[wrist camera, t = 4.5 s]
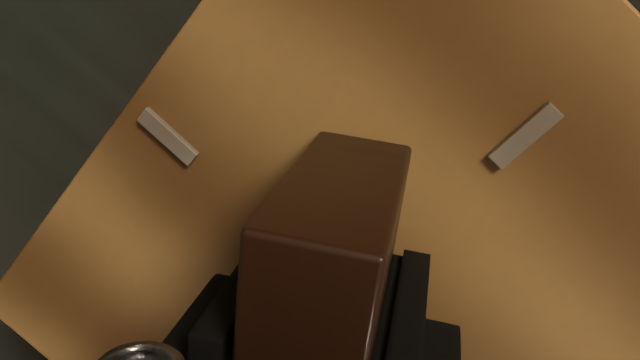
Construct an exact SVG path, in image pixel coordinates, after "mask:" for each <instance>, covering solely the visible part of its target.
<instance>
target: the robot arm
mask: <svg viewBox="0 0 640 360" xmlns="http://www.w3.org/2000/svg"><path fill="white" fill-rule="evenodd" d="M430 257H431V254H426V253H421V252H416V251H411V250H406V249H404V253H403V256H400V255H395V254H393V256H392V260H391V265H390V270H389V275H388V280H387V284H386V289H385V294H384V299H383V304H382V309H381V313H380V318H379V323H378V328H377V333H376V337H375V342H374V347H373V352H372V357H371V360H461V331H460V326H459V325H454V324H450V323H445V322H441V321H436V320H431V319H427V318H426V309H427V296H428V283H429V270H430ZM238 265H239V264H238ZM238 265H237V266H236V268H235V269H234V271H233V272H232V273H231V275H230V276H228V275H223V274H215V275H214V276H213V277H212V278H211V280H210V281H209V282H208V283H207V285H206V286H205V287H204V289H203V290H202V291H201V292H200V294H199V295H198V296H197V298H196V299H195V300H194V302H193V303H192V304H191V305H190V307H189V308H188V309H187V311H186V312H185V313H184V315H183V316H182V317H181V318H180V320H179V321H178V322H177V324H176V325H175V326H174V327H173V329H172V330H171V331H170V333H169V334H168V335H167V337H166V338H165V339H164V340H163V342H156V341H148V340H147V341H134V342H130V343H126V344H122V345H119V346H117V347H115V348H113V349H111V350H109V351H107V352H106V353H105V354H104V355H103V356H101V357H100V358H99V359H98V360H232V359H233V344H234V328H235V312H236V296H237V281H238Z"/></svg>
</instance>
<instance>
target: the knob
mask: <svg viewBox="0 0 640 360" xmlns="http://www.w3.org/2000/svg"><path fill="white" fill-rule="evenodd" d="M411 153H412V151H411V147H409V146H407V145H401V144H395V143H389V142H383V141H378V140H372V139H366V138H360V137H354V136H348V135H343V134H337V133H331V132H325V131H322V132H319V134H318V135H317V136H316V137H315V139H314V140H313V141H312V142H311V144H310V145H309V146H308V147H307V149H306V150H305V151H304V152H303V154H302V155H301V156H300V157H299V159H298V160H297V161H296V162H295V164H294V165H293V166H292V167H291V169H290V170H289V171H288V172H287V174H286V175H285V176H284V177H283V179H282V180H281V181H280V182H279V184H278V185H277V186H276V187H275V188H274V190H273V191H272V192H271V193H270V195H269V196H268V197H267V198H266V200H265V201H264V202H263V203H262V205H261V206H260V207H259V208H258V210H257V211H256V212H255V213H254V215H253V216H252V217H251V218H250V220H249V221H248V222H247V223H246V225H245V226H244V227H243V229H242V231H241V233H240V249H239V265H238V281H237V296H236V312H235V328H234V344H233V359H232V360H371V357H372V352H373V347H374V342H375V337H376V333H377V328H378V323H379V318H380V313H381V309H382V304H383V299H384V294H385V289H386V284H387V280H388V275H389V270H390V265H391V260H392V256H393V252H394V246H395V241H396V235H397V230H398V224H399V219H400V213H401V208H402V202H403V197H404V191H405V186H406V180H407V175H408V169H409V164H410V158H411Z"/></svg>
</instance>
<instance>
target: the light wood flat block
mask: <svg viewBox="0 0 640 360" xmlns="http://www.w3.org/2000/svg"><path fill="white" fill-rule="evenodd" d="M322 131H325V132H331V133H337V134H343V135H348V136H354V137H360V138H366V139H372V140H378V141H383V142H389V143H395V144H401V145H407V146H409V147H411V151H412V153H411V158H410V164H409V169H408V175H407V180H406V186H405V191H404V197H403V202H402V208H401V213H400V219H399V224H398V230H397V235H396V241H395V246H394V252H393V254H395V255H400V256H403V253H404V249H406V250H411V251H416V252H421V253H426V254H431V257H430V270H429V283H428V296H427V309H426V318H427V319H431V320H436V321H441V322H445V323H450V324H454V325H459V326H460V331H461V360H640V13H639V12H638V11H637V10H636V9H635V8H634V6H633V5H632V4H631V3H630V2H629V1H628V0H202V1H201V2H200V3H199V5H198V6H197V8H196V9H195V10H194V12H193V13H192V15H191V16H190V17H189V19H188V20H187V21H186V23H185V24H184V26H183V27H182V28H181V30H180V31H179V33H178V34H177V35H176V37H175V38H174V40H173V41H172V42H171V44H170V45H169V46H168V48H167V49H166V51H165V52H164V53H163V55H162V56H161V58H160V59H159V60H158V62H157V63H156V64H155V66H154V67H153V69H152V70H151V71H150V73H149V74H148V76H147V77H146V78H145V80H144V81H143V83H142V84H141V85H140V87H139V88H138V89H137V91H136V92H135V94H134V95H133V96H132V98H131V99H130V101H129V102H128V103H127V105H126V106H125V108H124V109H123V110H122V112H121V113H120V114H119V116H118V117H117V119H116V120H115V121H114V123H113V124H112V126H111V127H110V128H109V130H108V131H107V133H106V134H105V135H104V137H103V138H102V139H101V141H100V142H99V144H98V145H97V146H96V148H95V149H94V151H93V152H92V153H91V155H90V156H89V158H88V159H87V160H86V162H85V163H84V164H83V166H82V167H81V169H80V170H79V171H78V173H77V174H76V176H75V177H74V178H73V180H72V181H71V182H70V184H69V185H68V187H67V188H66V189H65V191H64V192H63V194H62V195H61V196H60V198H59V199H58V201H57V202H56V203H55V205H54V206H53V207H52V209H51V210H50V212H49V213H48V214H47V216H46V217H45V219H44V220H43V221H42V223H41V224H40V226H39V227H38V228H37V230H36V231H35V232H34V234H33V235H32V237H31V238H30V239H29V241H28V242H27V244H26V245H25V246H24V248H23V249H22V251H21V252H20V253H19V255H18V256H17V257H16V259H15V260H14V262H13V263H12V264H11V266H10V267H9V269H8V270H7V271H6V273H5V274H4V276H3V277H2V278H1V280H0V320H2V321H3V322H4V323H5V324H6V325H8V326H9V327H10V328H11V329H12V330H14V331H15V332H16V333H17V334H18V335H20V336H21V337H22V338H23V339H24V340H25V341H27V342H28V343H29V344H30V345H31V346H33V347H34V348H35V349H36V350H37V351H39V352H40V353H41V354H42V355H43V356H45V357H46V358H47V359H48V360H98V359H99V358H100V357H101V356H103V355H104V354H105V353H106V352H107V351H109V350H111V349H113V348H115V347H117V346H119V345H122V344H126V343H130V342H134V341H147V340H148V341H156V342H163V340H164V339H165V338H166V337H167V335H168V334H169V333H170V331H171V330H172V329H173V327H174V326H175V325H176V324H177V322H178V321H179V320H180V318H181V317H182V316H183V315H184V313H185V312H186V311H187V309H188V308H189V307H190V305H191V304H192V303H193V302H194V300H195V299H196V298H197V296H198V295H199V294H200V292H201V291H202V290H203V289H204V287H205V286H206V285H207V283H208V282H209V281H210V280H211V278H212V277H213V276H214V275H215V274H223V275H228V276H230V275H231V273H232V272H233V271H234V269H235V268H236V266H237V265H238V264H239V249H240V233H241V231H242V229H243V227H244V226H245V225H246V223H247V222H248V221H249V220H250V218H251V217H252V216H253V215H254V213H255V212H256V211H257V210H258V208H259V207H260V206H261V205H262V203H263V202H264V201H265V200H266V198H267V197H268V196H269V195H270V193H271V192H272V191H273V190H274V188H275V187H276V186H277V185H278V184H279V182H280V181H281V180H282V179H283V177H284V176H285V175H286V174H287V172H288V171H289V170H290V169H291V167H292V166H293V165H294V164H295V162H296V161H297V160H298V159H299V157H300V156H301V155H302V154H303V152H304V151H305V150H306V149H307V147H308V146H309V145H310V144H311V142H312V141H313V140H314V139H315V137H316V136H317V135H318V134H319V132H322Z"/></svg>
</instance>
